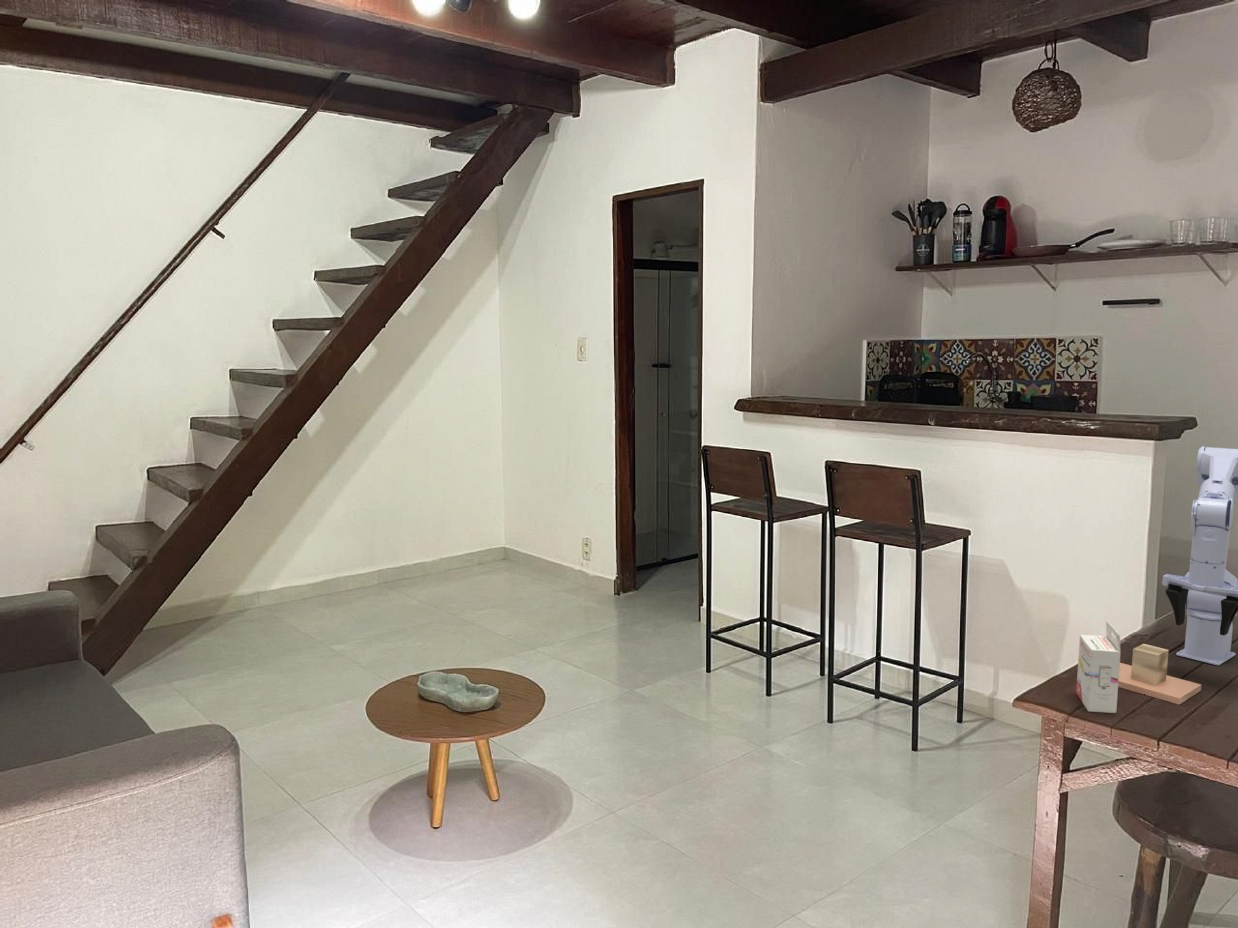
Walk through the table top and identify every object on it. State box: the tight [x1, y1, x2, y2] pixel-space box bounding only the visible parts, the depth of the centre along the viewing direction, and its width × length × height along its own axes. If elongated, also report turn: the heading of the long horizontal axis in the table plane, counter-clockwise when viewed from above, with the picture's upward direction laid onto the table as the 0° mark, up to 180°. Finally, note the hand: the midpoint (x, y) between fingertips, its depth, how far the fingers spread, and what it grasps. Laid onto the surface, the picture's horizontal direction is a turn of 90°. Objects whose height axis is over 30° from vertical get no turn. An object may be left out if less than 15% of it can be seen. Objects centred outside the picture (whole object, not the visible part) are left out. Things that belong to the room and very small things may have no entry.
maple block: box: [1131, 643, 1169, 686], centre depth 178 cm, size 4×4×6 cm
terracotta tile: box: [1118, 662, 1202, 705], centre depth 178 cm, size 10×15×1 cm, turn 39°
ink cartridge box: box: [1075, 620, 1121, 714], centre depth 169 cm, size 9×5×15 cm, turn 168°
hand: (1201, 628), depth 179 cm, fingers open, 7 cm apart
